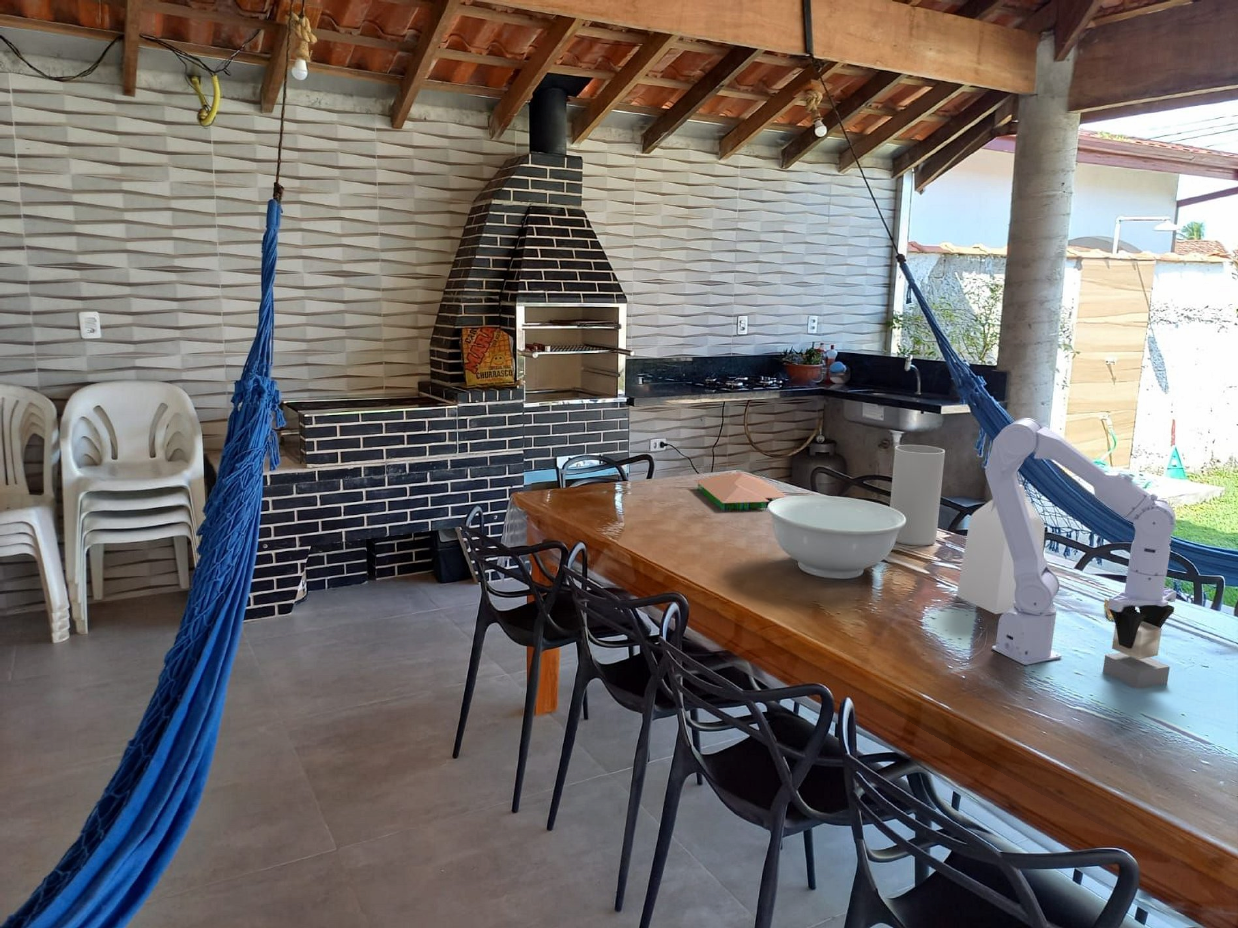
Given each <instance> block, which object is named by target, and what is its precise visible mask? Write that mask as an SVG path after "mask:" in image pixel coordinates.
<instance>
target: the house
mask: <svg viewBox="0 0 1238 928" xmlns="http://www.w3.org/2000/svg"><path fill="white" fill-rule="evenodd" d="M694 481H695V482H696V483H697V487H698V491H700V492H701V493H702V494H703V495H704V496H705V497H707V498H708V499H709V500H710V501H711V502H713V503H714V504H715V505H717V507H719V508H720V509H722V511H723V512H725V508H726V507H728V505H729V504H730V507H731V508H734V504H735V505H736V509H737V510H738V509H741V508H743V509H744V510H746V511H749V507H751V503H752V508H755V507H756V504H757V509H759V507H760V508H761V509H762V510H764V511H766V509H767V503H770V502H771V501H770V499H780V498H784V497H789V495H787V494H785V493H784V492H782V491H781V490H779V489H778V488H776V487H774V486H773V485H771V484H770V483H768V482H766V481H765V480H763V479H762V478H759V477H756V476H753V475H749V474H746V473H742V472H736V473H721V474H715V475H710V476H708V477H707V478H706V477H705V478H701V479H695V480H694ZM730 510H731V509H729V511H728V512H730Z"/></svg>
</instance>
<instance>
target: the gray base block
mask: <svg viewBox="0 0 1238 928" xmlns="http://www.w3.org/2000/svg"><path fill="white" fill-rule="evenodd" d="M1170 668H1171V666H1169V665H1167V664H1166V663H1163V662H1161V661H1158V660H1156V659H1154V658H1152V657H1148V658H1143V659H1139V660H1138V659H1135V658H1133V657H1131V656H1128V655H1126V654H1124V653H1121V652H1116V653H1110V654H1105V655H1104V659H1103V669H1102V673H1105V674H1106V675H1108V676H1110V677H1113V679H1116V680H1118V681H1120V682H1122V683H1124V684H1126V685H1128V686H1131V688H1134V689H1136V690H1139V689H1144V688H1150V687H1155V686H1161V685H1162V686H1163V685H1167V684H1168V680H1169V673H1170Z"/></svg>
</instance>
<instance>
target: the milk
mask: <svg viewBox="0 0 1238 928" xmlns="http://www.w3.org/2000/svg"><path fill="white" fill-rule="evenodd" d="M1019 485H1020V488H1021V492H1022V495H1023V498H1024V501H1025V504H1026V507H1027V510H1028V514H1029V517H1030V520H1031V523H1032V526H1033V529H1034V532H1035V536H1036V539H1037V542H1038V545H1039V548H1040V551H1041V554H1042V555H1043V556H1044V544H1045V543H1044V542H1045V533H1046V532H1045V530H1046V529H1045V528H1046V526H1045V522H1044V521H1043V518H1042V517H1041V515H1040V514H1039V513H1038V511H1037V510H1036V508H1035V507H1034V505H1033V503H1031V502H1030V500H1029V499H1028V497H1027V494H1026V493H1027V492H1026V489H1025V486H1024V485H1022V484H1019ZM969 518H970V519H969V523H968V527H967V528H968V529H967V532H966V533H967V535H966V538H965V539H966V540H965V543H964V544H965V545H964V550H963V551H964V552H963V557H962V562H961V568H960V574H959V578H958V585H957V591H956V596H957V597H959V598H960V599H963V600H965V601H967V602H969V603H971V604H974V605H976V606H977V607H979V608H982V609H984V610H986V611H988V612H991V613H993V615H994V614H995V615H998V614H1004V613H1005V612H1008V611H1010V610H1011V609H1012V607H1013V605H1014V602H1015V596H1014V594H1015V589H1016V583H1015V579H1014V563H1013V559H1012V556H1011V553H1010V550H1009V547H1008V543H1007V540H1006V537H1005V534H1004V531H1003V528H1002V524H1001V521H1000V518H999V515H998V512H997V509H996V506H995V502H994V499H993V498H992V499H990V500H989V501H988V502H986V503H985V504H984V505H981V507H979V508H978V509H976V510H975V511H974V512H973V513H972V514H971V516H970V517H969Z"/></svg>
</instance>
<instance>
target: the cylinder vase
mask: <svg viewBox="0 0 1238 928" xmlns="http://www.w3.org/2000/svg"><path fill="white" fill-rule="evenodd" d="M945 456H946V451H945V449H943V448H940V447H937V446H936V447H935V446H932V445H931V446H930V445H921V444H899V445H896V446H895V447H894V457H893V458H894V459H893V467H892V468H893V470H892V481H891V491H890V503H889V507H891V508H893V509H895V510H897V511H899V512H901V513H902V514H903V515H904V516H905V518H906V523H905V525H904V526H903V527H902V528H901V529H900V530H899V532H898V535H897V538H896V541H895V543H899V544H901V545H906V546H907V545H909V546H916V547H917V546H919V547H921V546H924V547H925V546H930V545H933V544H934V543H935V542H936V541H937V535H938V534H937V533H938V527H939V525H938V523H939V514H940V504H941V496H942V495H941V493H942V485H943V475H944V465H945Z"/></svg>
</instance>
